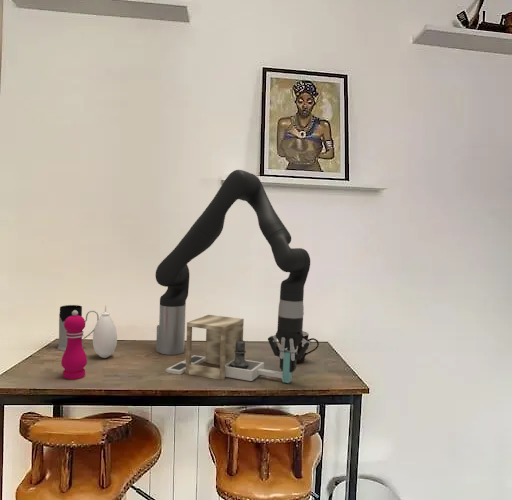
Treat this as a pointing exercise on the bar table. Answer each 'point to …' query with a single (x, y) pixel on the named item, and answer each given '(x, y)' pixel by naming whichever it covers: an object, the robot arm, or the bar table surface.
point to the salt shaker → (240, 355)
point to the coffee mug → (302, 347)
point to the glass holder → (64, 313)
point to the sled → (260, 370)
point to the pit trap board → (181, 366)
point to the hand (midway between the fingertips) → (287, 370)
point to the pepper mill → (74, 348)
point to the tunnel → (214, 344)
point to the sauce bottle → (105, 336)
